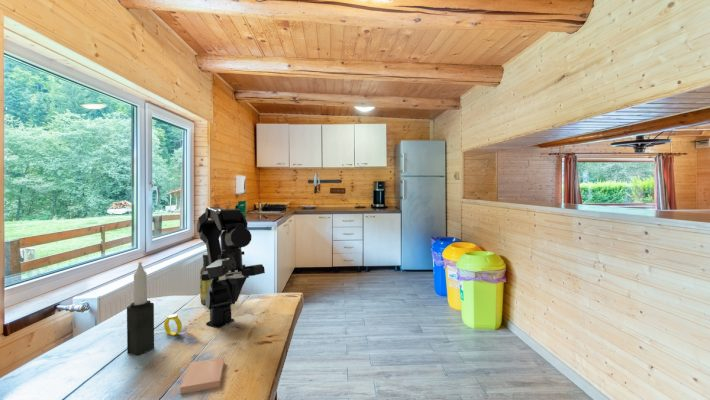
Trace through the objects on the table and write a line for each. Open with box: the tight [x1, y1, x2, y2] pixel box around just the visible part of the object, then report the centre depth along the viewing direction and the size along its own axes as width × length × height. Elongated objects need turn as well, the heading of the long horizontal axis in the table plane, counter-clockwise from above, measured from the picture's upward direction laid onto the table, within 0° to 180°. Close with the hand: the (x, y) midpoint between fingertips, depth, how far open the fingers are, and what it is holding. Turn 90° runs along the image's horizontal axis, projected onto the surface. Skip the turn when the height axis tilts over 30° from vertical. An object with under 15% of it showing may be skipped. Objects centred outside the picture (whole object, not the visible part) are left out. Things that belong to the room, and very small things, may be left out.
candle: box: [126, 261, 155, 356], centre depth 83 cm, size 5×5×25 cm
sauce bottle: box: [199, 252, 212, 305], centre depth 120 cm, size 6×6×20 cm
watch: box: [163, 313, 183, 337], centre depth 93 cm, size 6×3×6 cm, turn 70°
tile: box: [179, 357, 225, 395], centre depth 72 cm, size 2×8×10 cm
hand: (234, 301), depth 89 cm, fingers closed
